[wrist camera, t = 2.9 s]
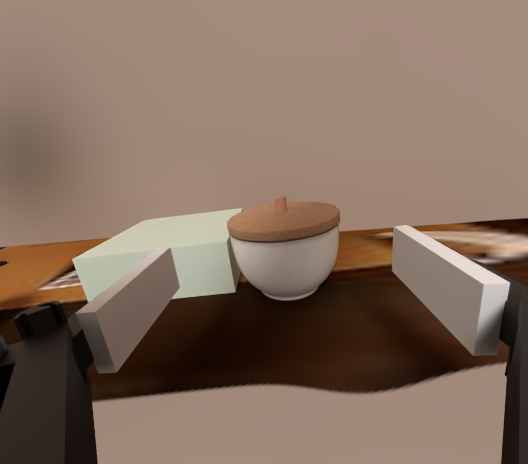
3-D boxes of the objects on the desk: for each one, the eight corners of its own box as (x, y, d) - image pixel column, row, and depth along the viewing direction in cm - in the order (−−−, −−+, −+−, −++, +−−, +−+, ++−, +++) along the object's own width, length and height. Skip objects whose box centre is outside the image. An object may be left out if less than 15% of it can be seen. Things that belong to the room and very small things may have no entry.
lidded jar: (241, 326, 21) (222, 218, 18) (237, 271, 31) (224, 196, 29) (363, 302, 22) (362, 196, 19) (320, 257, 32) (315, 183, 30)
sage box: (248, 243, 42) (242, 208, 40) (236, 295, 27) (226, 241, 25) (154, 254, 43) (145, 219, 41) (91, 309, 28) (72, 259, 26)
